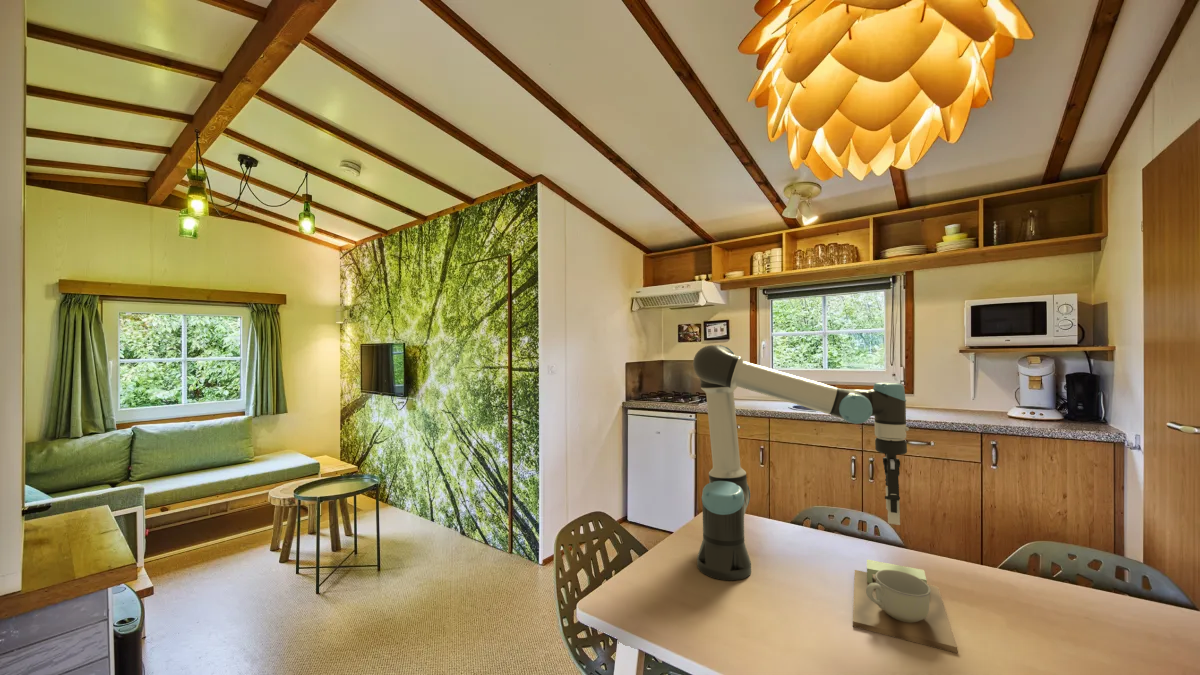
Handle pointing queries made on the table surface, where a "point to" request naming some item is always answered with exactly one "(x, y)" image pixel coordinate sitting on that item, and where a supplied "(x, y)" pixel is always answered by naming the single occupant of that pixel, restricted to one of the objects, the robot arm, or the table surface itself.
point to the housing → (877, 566)
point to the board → (924, 632)
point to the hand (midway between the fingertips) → (892, 516)
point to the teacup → (900, 595)
